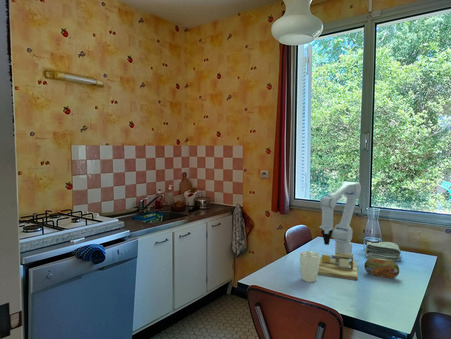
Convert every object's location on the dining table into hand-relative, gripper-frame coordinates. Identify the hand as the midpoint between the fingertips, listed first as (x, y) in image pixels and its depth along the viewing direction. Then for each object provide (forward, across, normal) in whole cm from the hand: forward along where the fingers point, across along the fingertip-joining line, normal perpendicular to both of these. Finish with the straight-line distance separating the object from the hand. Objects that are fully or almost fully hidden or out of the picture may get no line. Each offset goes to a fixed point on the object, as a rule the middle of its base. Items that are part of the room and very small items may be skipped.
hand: (326, 243), depth 165 cm
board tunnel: (+10, +8, +5) cm, 14 cm away
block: (+8, +6, +9) cm, 14 cm away
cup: (+11, +26, -6) cm, 29 cm away
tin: (+11, +9, +26) cm, 29 cm away
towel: (+11, -25, +29) cm, 40 cm away
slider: (+9, +6, +5) cm, 12 cm away
